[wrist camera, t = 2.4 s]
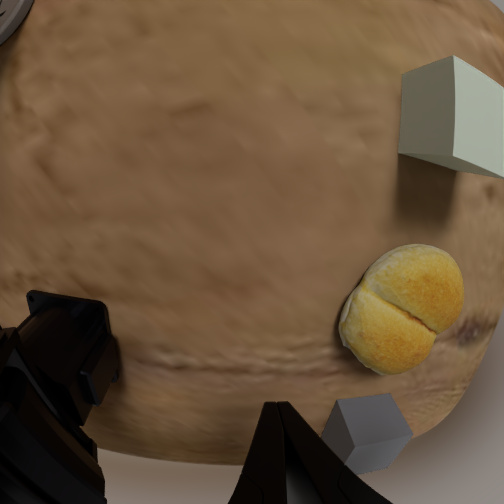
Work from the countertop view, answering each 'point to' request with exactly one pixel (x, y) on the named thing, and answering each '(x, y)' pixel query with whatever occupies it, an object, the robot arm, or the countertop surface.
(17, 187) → the countertop surface
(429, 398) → the countertop surface
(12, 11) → the travel mug
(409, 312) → the bread roll
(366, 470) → the charcoal block
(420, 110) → the sage block
